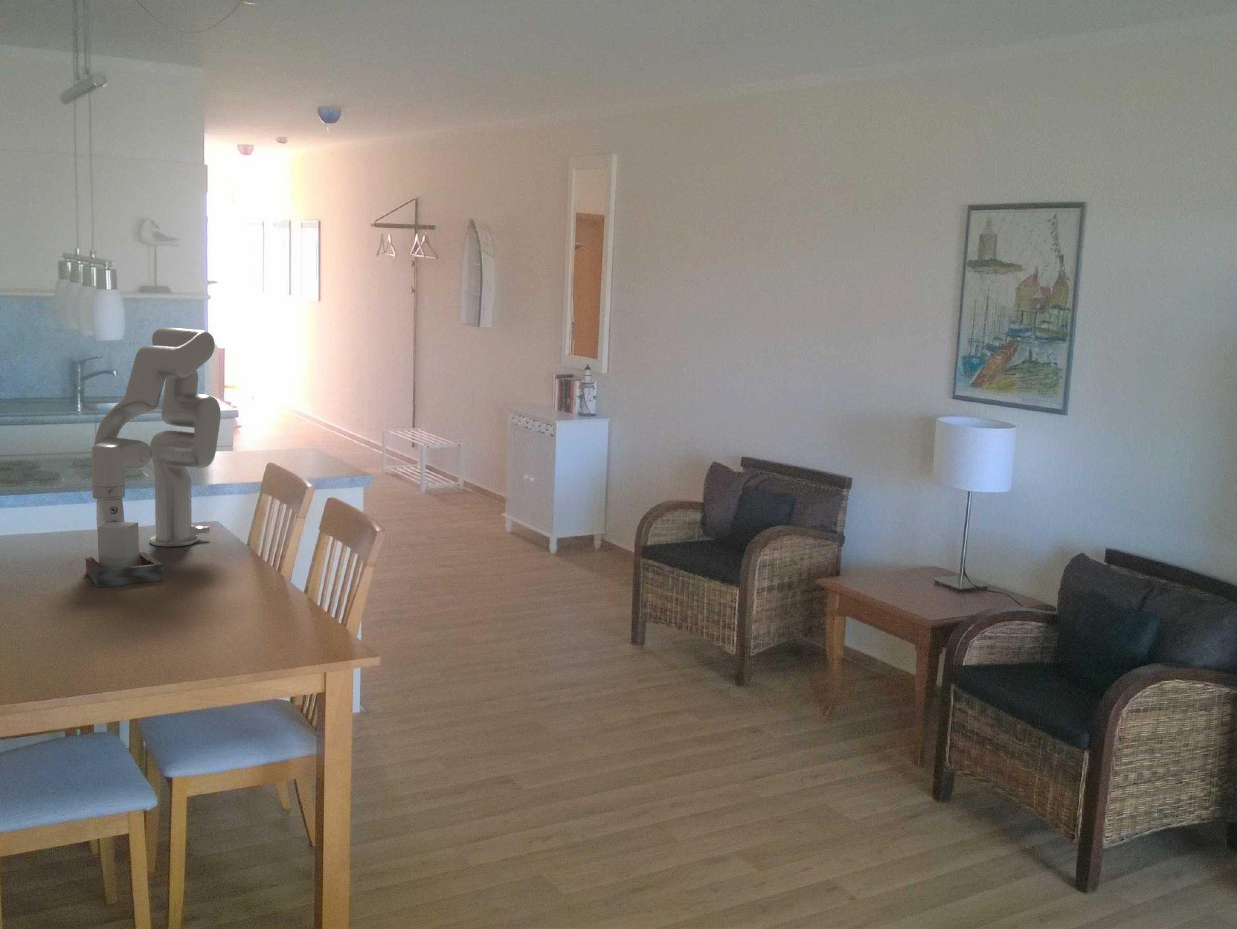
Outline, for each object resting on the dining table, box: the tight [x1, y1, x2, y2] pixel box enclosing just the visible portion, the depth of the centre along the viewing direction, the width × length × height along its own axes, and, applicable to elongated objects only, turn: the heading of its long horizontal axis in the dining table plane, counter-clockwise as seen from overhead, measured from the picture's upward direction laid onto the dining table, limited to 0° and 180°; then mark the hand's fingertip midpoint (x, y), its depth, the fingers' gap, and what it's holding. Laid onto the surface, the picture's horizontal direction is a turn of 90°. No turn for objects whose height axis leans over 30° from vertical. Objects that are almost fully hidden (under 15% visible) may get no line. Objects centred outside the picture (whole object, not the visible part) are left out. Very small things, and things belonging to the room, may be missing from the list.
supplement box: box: [96, 521, 140, 570], centre depth 284 cm, size 7×7×13 cm
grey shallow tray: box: [85, 551, 164, 588], centre depth 281 cm, size 15×14×4 cm
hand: (110, 560), depth 291 cm, fingers closed
